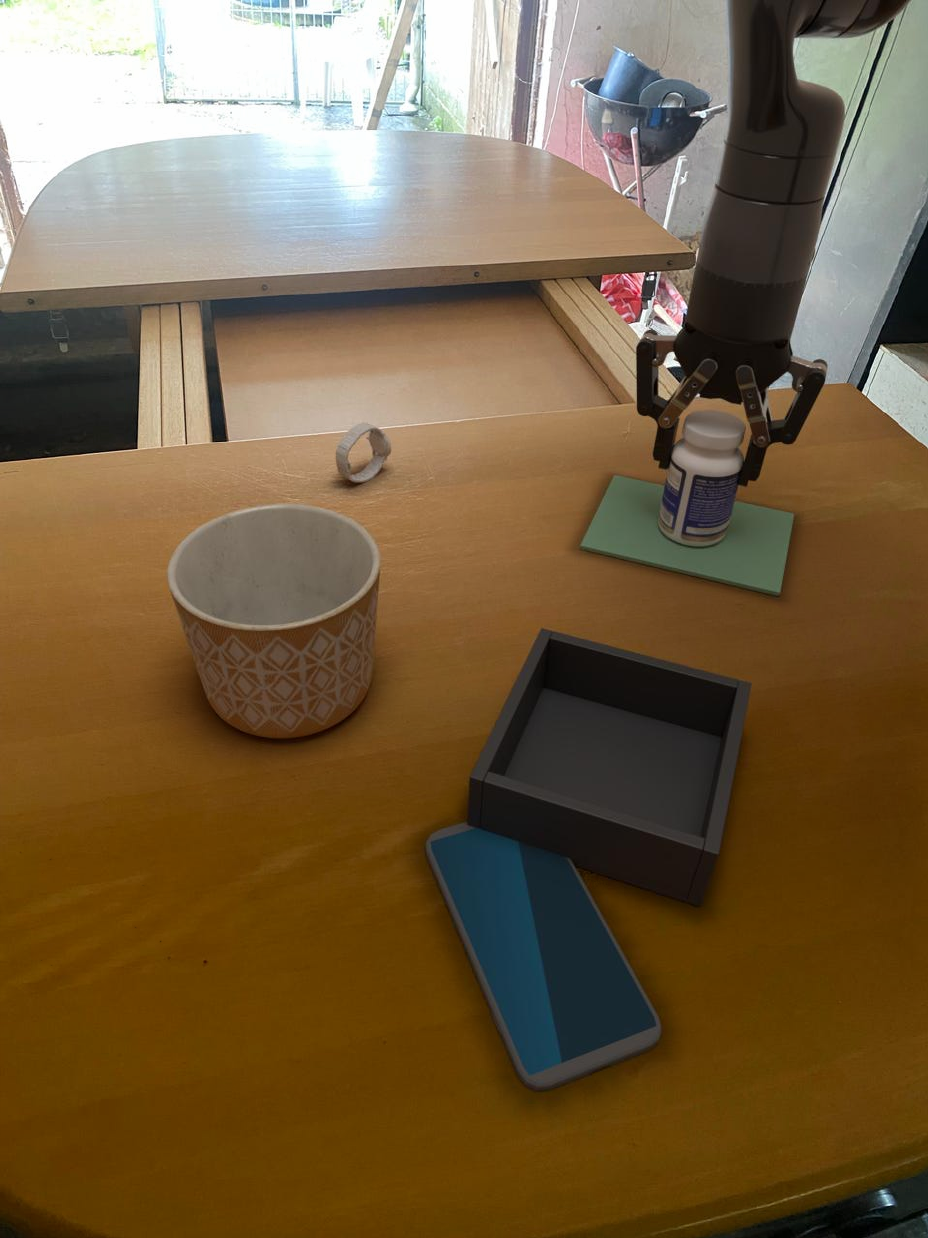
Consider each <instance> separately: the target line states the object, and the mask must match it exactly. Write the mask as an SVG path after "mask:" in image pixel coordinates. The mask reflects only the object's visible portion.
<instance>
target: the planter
mask: <svg viewBox="0 0 928 1238" xmlns="http://www.w3.org/2000/svg"><path fill="white" fill-rule="evenodd" d="M381 558H382V557H381V551H380V548H379V545H378V544H377V541H376V540H375V539H374V537H373V536H372V535H371V533H370V532H369V530H367V529H366V528H365V527H364V526H363V525H362V524H360V523H359V522H358V521H356V520H354V519H352V518H350V517H349V516H346V515H344V514H342V513H340V512H337V511H335V510H331V509H328V508H325V507H319V506H314V505H310V504H309V505H308V504H300V503H299V504H297V503H274V504H261V505H256V506H251V507H245V508H241V509H237V510H234V511H231V512H227V513H225V514H223V515H220V516H218V517H215V518H213V519H211V520H209V521H207V522H205V523H204V524H201V525H200V526H199V527H197V528H195V529H194V530H192V531H191V532H190V533H189V534H188V535H187V536H186V537H184V538H183V539H182V540H181V542H179V544H178V545H177V546H176V547H175V549H174V551H173V552H172V554H171V556H170V558H169V560H168V564H167V568H166V581H167V585H168V589H169V592H170V594H171V597H172V600H173V603H174V606H175V608H176V609H175V610H176V611H177V615H178V618H179V620H180V623H181V627H182V629H183V633H184V636H185V638H186V641H187V644H188V647H189V649H190V653H191V656H192V659H193V660H194V663H195V667H196V669H197V673H198V676H199V678H200V681H201V684H202V687H203V690H204V693H205V696H206V699H207V701H208V703H209V704H210V706H211V708H212V709H213V711H214V712H215V713H216V714H217V715H218V716H219V717H220V718H221V719H222V720H223V721H224V722H226V724H229V725H230V726H232V727H233V728H235V729H237V730H239V731H241V732H244V733H247V734H250V735H253V736H257V737H261V738H268V739H294V738H301V737H306V736H311V735H314V734H317V733H320V732H322V731H325V730H327V729H329V728H331V727H333V726H335V725H336V724H338V723H340V722H341V721H343V720H344V719H346V718H347V717H348V716H349V715H351V714H352V713H353V712H354V711H355V710H356V709H357V708H358V706H359V705H360V704H361V703H362V701H363V700H364V698H365V697H366V695H367V693H368V691H369V689H370V685H371V682H372V676H373V668H374V667H373V665H374V656H375V655H374V653H375V641H376V628H377V616H378V600H379V589H380V576H381V562H382V561H381V560H382V559H381Z"/></svg>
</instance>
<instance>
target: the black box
mask: <svg viewBox="0 0 928 1238" xmlns="http://www.w3.org/2000/svg"><path fill="white" fill-rule="evenodd" d="M752 684H753V683H752V682H749V681H744V680H741V679H737V678H734V677H730V676H726V675H722V674H718V673H714V672H712V671H708V670H703V669H700V668H695V667H692V666H688V665H684V664H680V663H676V662H673V661H672V662H671V661H670V660H665V659H662V658H658V657H653V656H649V655H646V654H642V653H638V652H635V651H632V650H631V651H630V650H627V649H623V648H619V647H615V646H611V645H608V644H606V643H605V644H604V643H600V642H597V641H593V640H589V639H585V638H582V637H578V636H574V635H570V634H566V633H562V632H559V631H555V630H551V629H547V628H543V627H541V628H540V631H539V632H538V634H537V636H536V638H535V639H534V642H533V644H532V646H531V648H530V650H529V652H528V655H527V657H526V659H525V661H524V663H523V665H522V667H521V668H520V671H519V673H518V675H517V678H516V680H515V682H514V684H513V686H512V688H511V690H510V692H509V694H508V696H507V698H506V700H505V701H504V704H503V706H502V708H501V711H500V712H499V714H498V717H497V719H496V721H495V723H494V726H493V727H492V729H491V732H490V734H489V735H488V738H487V739H486V742H485V744H484V745H483V748H482V749H481V752H480V753H479V756H478V758H477V761H476V763H475V765H474V767H473V769H472V770H471V773H470V775H469V780H468V800H467V815H466V816H467V818H466V822H467V825H469V826H472V827H475V828H478V829H479V828H480V829H481V830H484V831H487V832H490V833H494V834H497V835H500V836H503V837H506V838H509V839H512V840H515V841H518V842H521V843H524V844H528V845H531V846H534V847H537V848H540V849H543V850H546V851H549V852H552V853H555V854H558V855H562V856H565V857H567V858H569V859H571V860H572V862H573V864H574V865H575V867H576V868H579V869H583V870H586V871H589V872H591V873H595V874H598V875H601V876H604V877H607V878H610V879H613V880H616V881H619V882H622V883H625V884H629V885H631V886H634V887H637V888H641V889H643V890H647V891H650V892H653V893H656V894H659V895H662V896H665V897H667V898H671V899H673V900H677V901H680V902H683V903H686V904H689V905H692V906H695V907H698V908H701V907H702V904H703V901H704V898H705V896H706V893H707V889H708V887H709V884H710V881H711V878H712V875H713V872H714V869H715V867H716V863H717V861H718V859H719V856H720V852H721V851H720V850H721V847H722V846H721V845H722V840H723V837H724V836H723V835H724V830H725V825H726V820H727V814H728V810H729V809H728V808H729V805H730V804H729V803H730V798H731V793H732V790H733V782H734V779H735V773H736V767H737V762H738V758H739V752H740V748H741V742H742V736H743V732H744V731H743V730H744V726H745V720H746V717H747V716H746V715H747V711H748V705H749V700H750V695H751V690H752Z"/></svg>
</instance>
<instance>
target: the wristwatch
mask: <svg viewBox="0 0 928 1238" xmlns="http://www.w3.org/2000/svg"><path fill="white" fill-rule="evenodd" d="M368 432H369V433H368ZM367 433H368V436H366V437H365V439H366V440H368V443H369V445H370V448H371V450H372V452H371V455H372V457H371V459H370V461H369V462H368V464H367V465H366V467H365V468H364V469H362V470H361V471H360V472H357V473H355V474H350V471H352V464H351V462H350V461H349V454H350V451H351V450H352V449H353V446H355V444H356V443H357V442H358V441H359V439H360V438H361V437H362V436H364V435H365V434H367ZM391 453H392V443H391V441H390V439H389V437H388V436H387V434H386V433H385V432H384V431H383V430H381V429H380V428H379V427H377V426H375V425H372V424H371V423H368V422H360V423H358V424H356V425H354V426H352V427H351V428H349V429H348V431H347V432H346V433H345V435H344V436H343V437H342V438H341V439H340V440H339V442H338V443H337V446H336V449H335V463H336V468H337V472H338V473H339V475H340V476H341V477H343V478H345V479H347V480H349V481H351V482H354V483H364V482H369V481H370V480H372V479H374V478H375V477H376V476H377V475H378V474H379V472H380V470H381V469H382V467H383V466H384V463H385V462H386V461H387V460H388V457H389V456H390V455H391Z"/></svg>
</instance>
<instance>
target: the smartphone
mask: <svg viewBox="0 0 928 1238" xmlns="http://www.w3.org/2000/svg"><path fill="white" fill-rule="evenodd" d="M425 857H426V860H427V862H428V864H429V866H430V869H431V871H432V874H433V876H434V879H435V881H436V884H437V886H438V887H439V891H440V893H441V895H442V898H443V900H444V902H445V905H446V908H447V910H448V912H449V915H450V917H451V919H452V922H453V925H454V927H455V929H456V931H457V934H458V936H459V939H460V941H461V943H462V946H463V949H464V950H465V951H464V952H465V953H466V956H467V959H468V960H469V963H470V965H471V968H472V971H473V972H474V976H475V977H476V980H477V982H478V984H479V987H480V989H481V992H482V994H483V997H484V998H485V1001H486V1003H487V1006H488V1008H489V1011H490V1013H491V1018H492V1021H493V1022H494V1024H495V1027H496V1030H497V1032H498V1034H499V1036H500V1038H501V1040H502V1042H503V1044H504V1047H505V1049H506V1052H507V1054H508V1057H509V1059H510V1061H511V1063H512V1066H513V1068H514V1071H515V1073H516V1076H517V1077H518V1079H519V1080H520V1081H521V1083H522V1084H523V1085H524V1087H526V1088H528V1089H530V1090H533V1091H534V1092H546V1091H547V1092H548V1091H550V1090H553V1089H556V1088H559V1087H562V1086H563V1085H566V1084H568V1083H571V1082H573V1081H576V1080H578V1079H579V1080H580V1079H582V1078H584V1077H587V1076H589V1075H591V1074H592V1073H595V1072H597V1071H600V1070H602V1069H605V1068H607V1067H613V1066H614V1065H616V1064H619V1063H621V1062H624V1061H626V1060H629V1059H632V1058H635V1057H637V1056H639V1055H641V1054H644V1053H647V1052H649V1051H651V1050H652V1049H653V1048H654V1047H656V1046H657V1045H658V1044H659V1041H660V1039H661V1034H662V1030H663V1029H662V1024H661V1021H660V1018H659V1015H658V1014H657V1011H656V1010H655V1008H654V1007H653V1004H652V1002H651V1001H650V999H649V997H648V995H647V993H646V992H645V990H644V988H643V985H642V984H641V982H640V981H639V979H638V977H637V976H636V974H635V972H634V970H633V968H632V966H631V965H630V963H629V961H628V960H627V957H626V956H625V954H624V952H623V950H622V949H621V947H620V944H619V943H618V941H617V940H616V937H615V936H614V934H613V932H612V931H611V928H610V927H609V925H608V924H607V922H606V920H605V918H604V916H603V914H602V913H601V910H600V908H599V907H598V905H597V903H596V902H595V900H594V898H593V895H592V894H591V893H590V891H589V889H588V887H587V885H586V884H585V882H584V880H583V878H582V876H581V874H580V872H579V871H578V869H577V867H576V866H575V865H574V864H573V862H572V860H571V859H569V858H567V857H565V856H562V855H558V854H555V853H552V852H549V851H546V850H543V849H540V848H537V847H534V846H531V845H528V844H524V843H521V842H518V841H515V840H512V839H509V838H506V837H503V836H500V835H497V834H494V833H490V832H487V831H484V830H481V829H480V828H479V829H478V828H475V827H472V826H469V825H467V821H464V822H461V823H457V824H454V825H451V826H447V827H445V828H444V827H443V828H440V829H438V830H436V831H435V832H433V833H431V834H430V835H429V837H428V838H427V840H426V842H425Z"/></svg>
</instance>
